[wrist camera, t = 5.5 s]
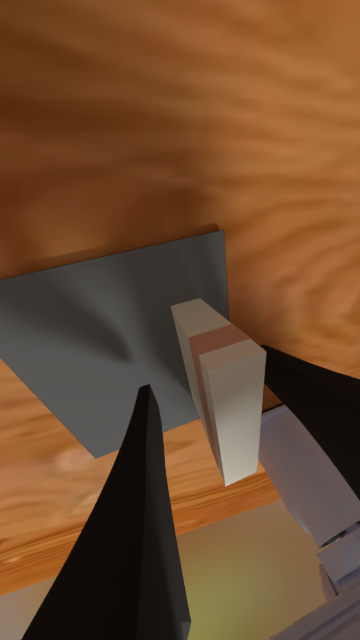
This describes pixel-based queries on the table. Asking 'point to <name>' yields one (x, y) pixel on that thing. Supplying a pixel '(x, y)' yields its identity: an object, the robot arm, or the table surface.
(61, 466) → the table surface
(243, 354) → the card deck
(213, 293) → the mat
